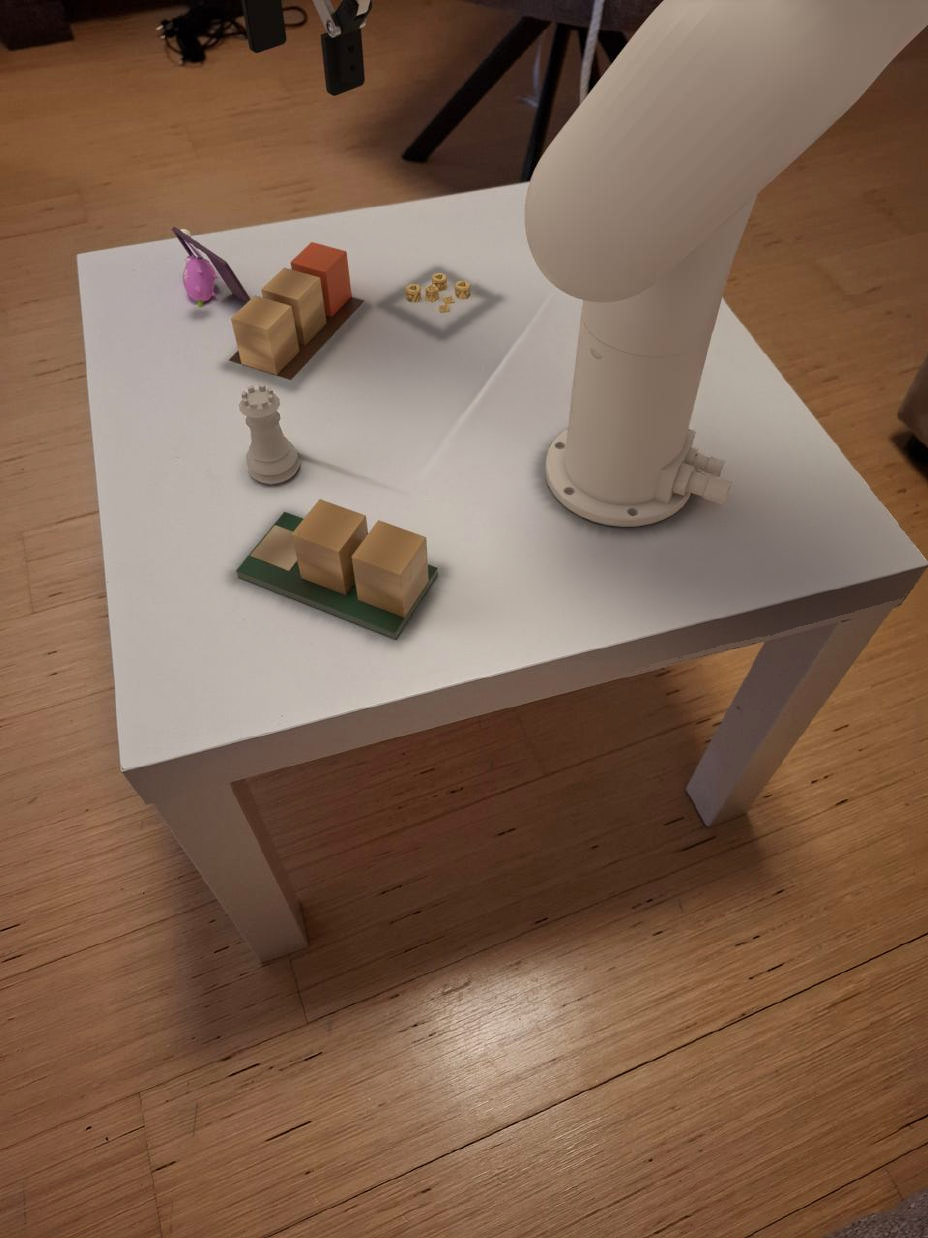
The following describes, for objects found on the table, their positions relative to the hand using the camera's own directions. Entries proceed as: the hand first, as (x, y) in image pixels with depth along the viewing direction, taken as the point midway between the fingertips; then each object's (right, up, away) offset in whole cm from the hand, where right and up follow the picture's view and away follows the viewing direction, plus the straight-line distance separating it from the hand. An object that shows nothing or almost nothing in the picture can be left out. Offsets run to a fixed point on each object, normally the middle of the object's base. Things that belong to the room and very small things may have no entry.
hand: (306, 67), depth 69 cm
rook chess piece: (-4, -29, +9) cm, 31 cm away
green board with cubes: (+2, -39, +2) cm, 39 cm away
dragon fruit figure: (-14, -10, +24) cm, 29 cm away
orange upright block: (-2, -10, +22) cm, 25 cm away
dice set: (+10, -10, +24) cm, 27 cm away
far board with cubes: (-4, -14, +20) cm, 25 cm away
